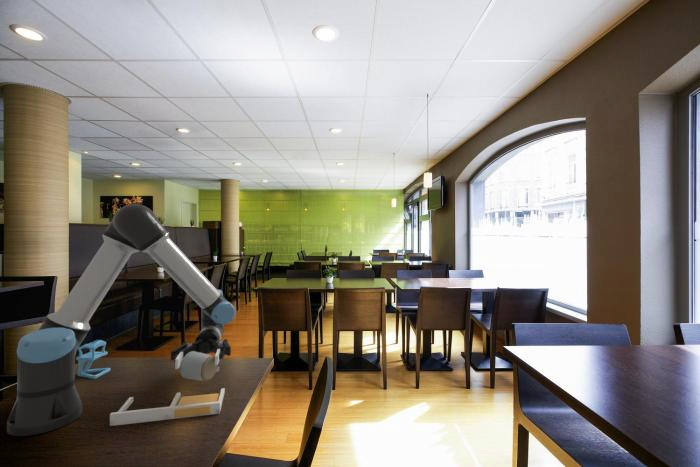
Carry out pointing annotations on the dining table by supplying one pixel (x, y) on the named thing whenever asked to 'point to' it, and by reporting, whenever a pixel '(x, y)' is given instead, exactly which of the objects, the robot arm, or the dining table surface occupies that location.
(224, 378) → the dining table surface
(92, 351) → the chair
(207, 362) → the ceramic mug
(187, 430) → the dining table surface
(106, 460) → the dining table surface
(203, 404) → the bay rack
